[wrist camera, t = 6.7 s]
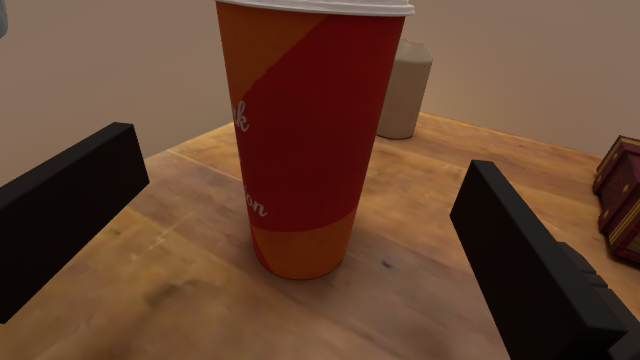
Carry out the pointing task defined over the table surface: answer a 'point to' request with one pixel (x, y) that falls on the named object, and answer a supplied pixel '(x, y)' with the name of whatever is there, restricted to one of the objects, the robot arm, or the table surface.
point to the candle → (405, 90)
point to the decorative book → (621, 197)
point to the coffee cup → (306, 118)
